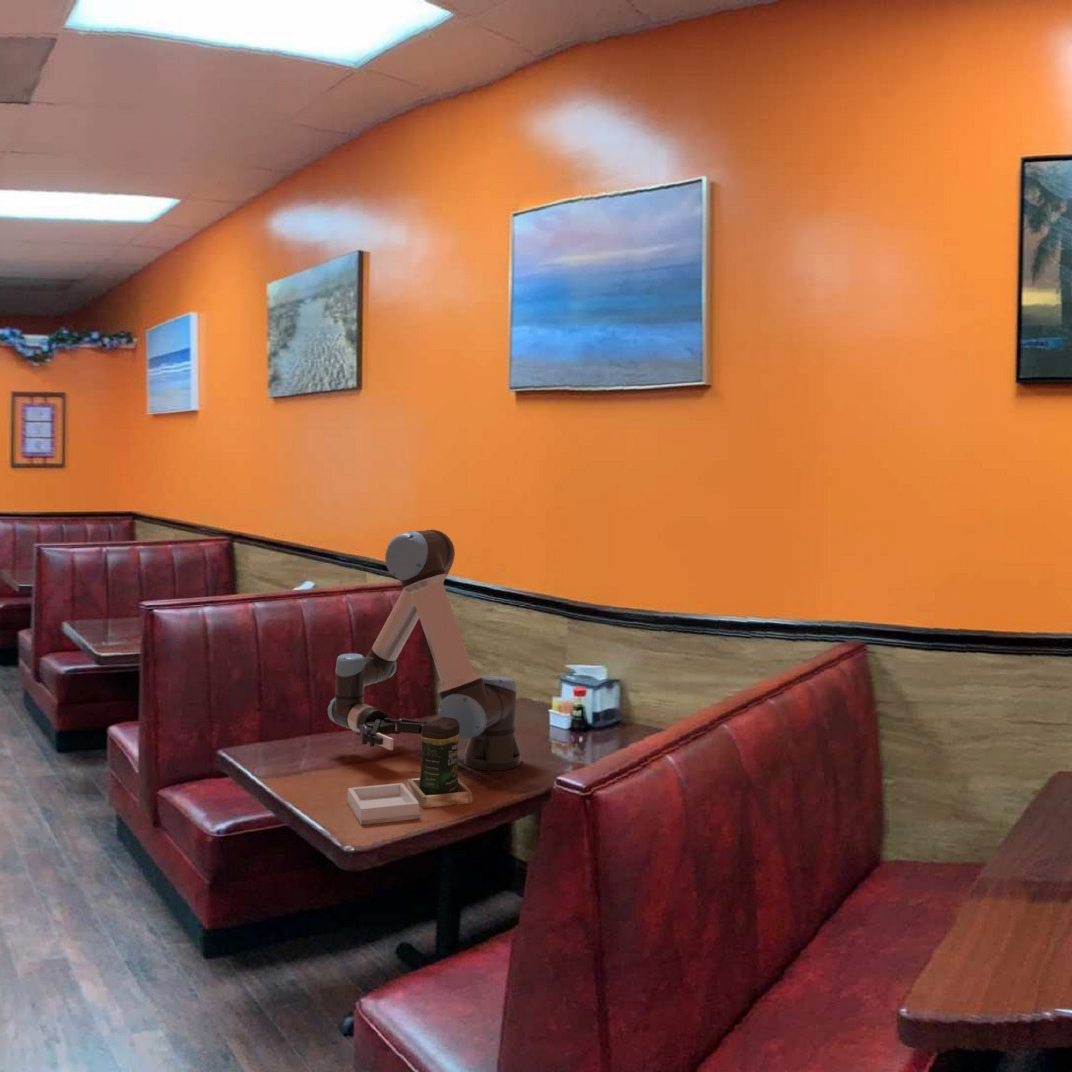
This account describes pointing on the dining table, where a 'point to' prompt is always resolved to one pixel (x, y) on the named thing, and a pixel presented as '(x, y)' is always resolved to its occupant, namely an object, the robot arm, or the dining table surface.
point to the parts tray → (383, 803)
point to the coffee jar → (439, 756)
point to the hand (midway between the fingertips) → (415, 740)
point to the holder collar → (439, 795)
